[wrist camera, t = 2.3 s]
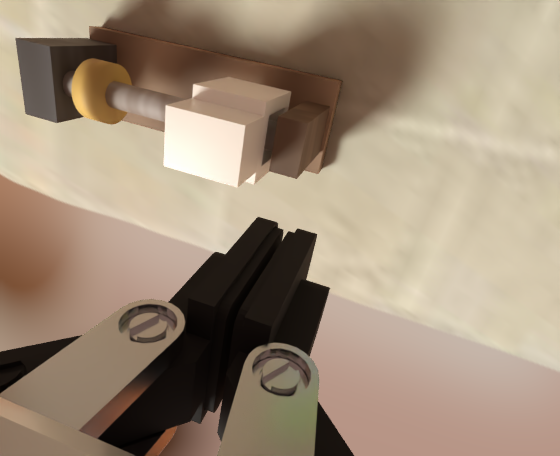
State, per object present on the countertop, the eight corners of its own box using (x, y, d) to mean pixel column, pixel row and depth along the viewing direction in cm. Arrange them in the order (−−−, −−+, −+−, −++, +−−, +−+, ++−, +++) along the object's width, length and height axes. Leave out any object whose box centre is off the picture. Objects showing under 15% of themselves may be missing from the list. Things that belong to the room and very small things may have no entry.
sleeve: (291, 91, 23) (247, 109, 17) (278, 162, 25) (235, 200, 19) (228, 76, 24) (166, 89, 18) (221, 146, 26) (163, 179, 20)
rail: (342, 80, 25) (316, 94, 19) (321, 169, 28) (293, 206, 22) (98, 26, 29) (8, 22, 22) (102, 109, 31) (23, 127, 25)
